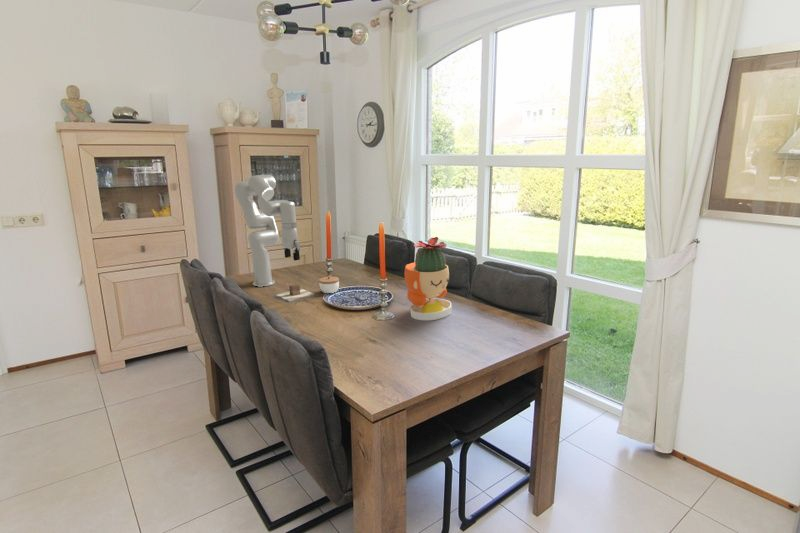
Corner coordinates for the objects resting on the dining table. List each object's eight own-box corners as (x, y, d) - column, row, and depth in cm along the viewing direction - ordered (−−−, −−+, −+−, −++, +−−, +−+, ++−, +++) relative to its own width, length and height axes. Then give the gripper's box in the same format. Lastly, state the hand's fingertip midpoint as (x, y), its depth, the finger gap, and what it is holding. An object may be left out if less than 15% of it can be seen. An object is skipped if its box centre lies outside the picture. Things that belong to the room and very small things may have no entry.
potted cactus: (460, 309, 214) (459, 236, 205) (429, 323, 198) (428, 244, 189) (424, 300, 228) (423, 231, 219) (393, 313, 212) (390, 239, 204)
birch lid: (275, 295, 243) (274, 285, 242) (300, 289, 253) (299, 279, 252) (289, 302, 232) (288, 291, 231) (314, 295, 242) (313, 284, 241)
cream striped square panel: (271, 296, 244) (271, 295, 244) (301, 289, 255) (301, 288, 255) (288, 304, 231) (288, 303, 230) (318, 295, 242) (318, 295, 242)
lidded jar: (341, 289, 251) (340, 273, 249) (337, 296, 241) (336, 278, 238) (322, 290, 252) (321, 273, 250) (317, 296, 242) (316, 279, 240)
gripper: (274, 225, 237) (278, 257, 241) (290, 228, 224) (293, 262, 228) (288, 223, 241) (291, 254, 246) (303, 226, 228) (306, 260, 233)
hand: (292, 258), depth 237 cm, fingers open, 9 cm apart
